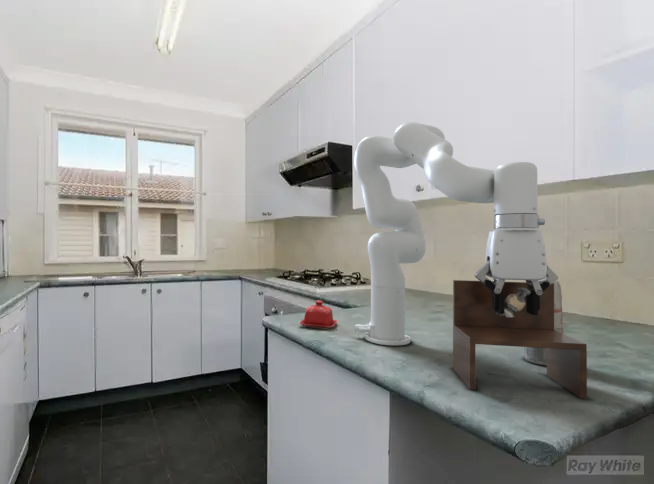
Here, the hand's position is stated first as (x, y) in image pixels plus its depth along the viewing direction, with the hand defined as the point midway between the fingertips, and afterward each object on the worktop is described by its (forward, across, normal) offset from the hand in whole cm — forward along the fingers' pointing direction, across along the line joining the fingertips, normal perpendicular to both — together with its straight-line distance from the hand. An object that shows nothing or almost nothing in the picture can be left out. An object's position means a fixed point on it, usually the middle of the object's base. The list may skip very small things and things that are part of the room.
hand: (515, 312), depth 75 cm
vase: (+1, 0, 0) cm, 1 cm away
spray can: (+15, -13, -17) cm, 26 cm away
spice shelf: (+14, 0, -1) cm, 14 cm away
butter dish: (+14, +43, -43) cm, 63 cm away
